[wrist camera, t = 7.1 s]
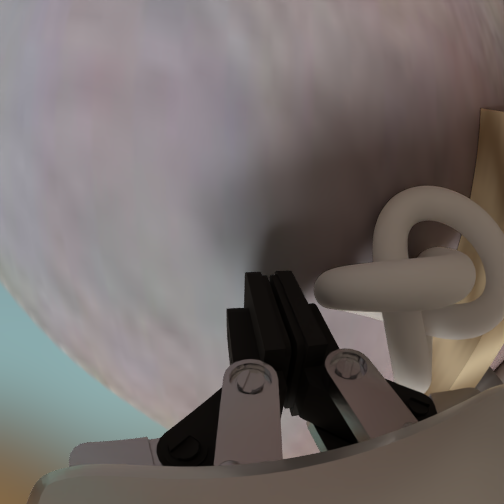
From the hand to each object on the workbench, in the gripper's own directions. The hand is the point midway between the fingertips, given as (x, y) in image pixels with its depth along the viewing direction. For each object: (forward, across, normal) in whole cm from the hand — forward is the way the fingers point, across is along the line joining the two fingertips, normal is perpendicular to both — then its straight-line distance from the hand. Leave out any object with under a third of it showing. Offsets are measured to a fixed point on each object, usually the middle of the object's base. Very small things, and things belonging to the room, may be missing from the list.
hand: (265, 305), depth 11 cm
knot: (+2, -6, -1) cm, 6 cm away
